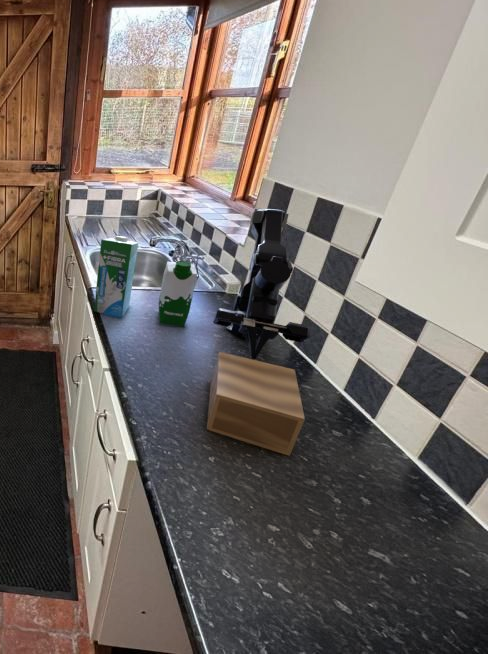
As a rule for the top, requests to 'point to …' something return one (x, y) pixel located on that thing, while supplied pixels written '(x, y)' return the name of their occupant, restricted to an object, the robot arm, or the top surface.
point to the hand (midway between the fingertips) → (253, 359)
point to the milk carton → (115, 275)
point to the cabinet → (255, 403)
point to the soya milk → (176, 293)
